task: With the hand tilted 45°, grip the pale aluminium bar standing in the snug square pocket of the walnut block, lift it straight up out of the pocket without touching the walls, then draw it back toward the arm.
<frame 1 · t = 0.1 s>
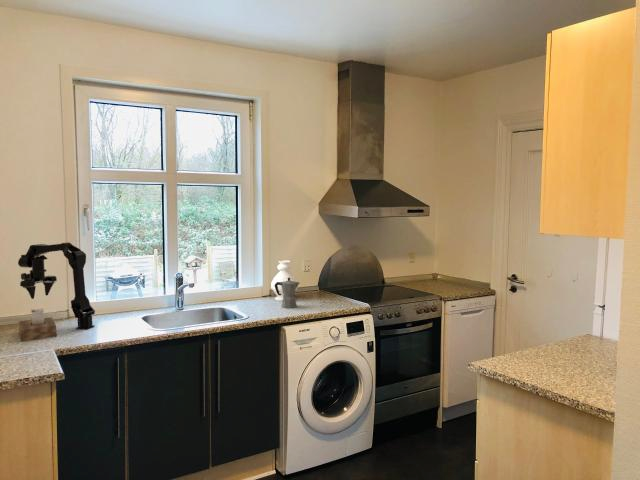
hand: (39, 297, 266), 15 cm above the worktop, tool pointing down, fingers open, 9 cm apart
aluminium bar: (38, 330, 248), point 2 cm above the worktop, touching walnut pocket block
coffeepot: (287, 307, 306), on the worktop
decorative vase: (284, 298, 331), on the worktop
walnut pocket block: (38, 334, 248), on the worktop
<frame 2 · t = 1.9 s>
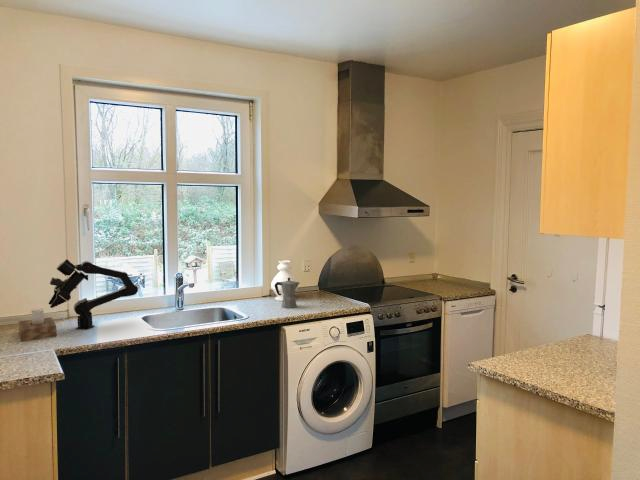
hand: (49, 305, 250), 13 cm above the worktop, tool tilted 45°, fingers open, 9 cm apart
nothing on the worktop moved.
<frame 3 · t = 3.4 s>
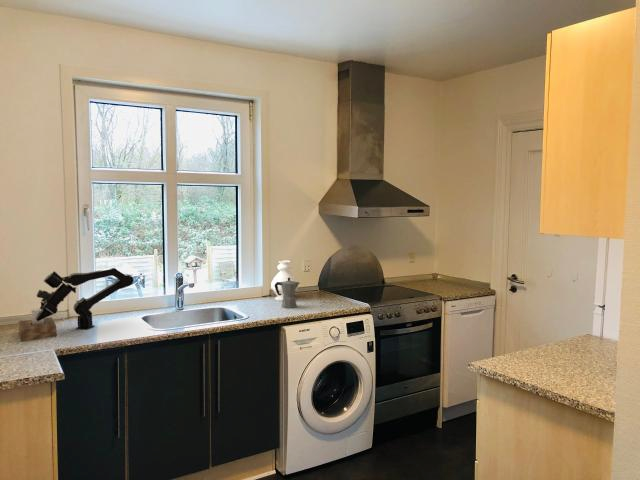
hand: (36, 318, 247), 8 cm above the worktop, tool tilted 45°, fingers open, 9 cm apart
nothing on the worktop moved.
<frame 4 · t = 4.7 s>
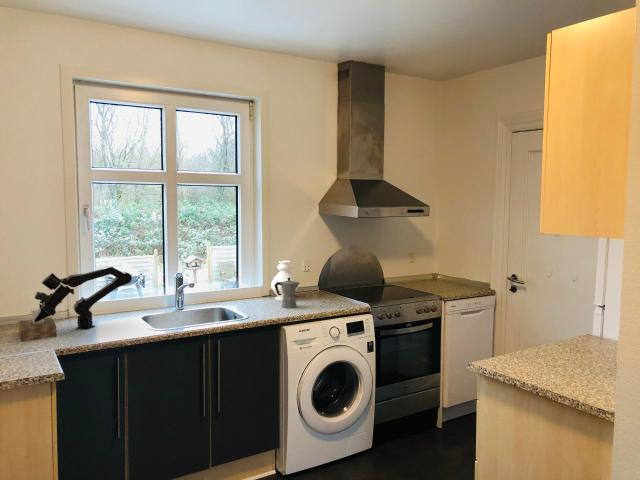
hand: (34, 320, 246), 7 cm above the worktop, tool tilted 45°, fingers closed on aluminium bar, 5 cm apart
aluminium bar: (38, 330, 248), point 2 cm above the worktop, touching gripper, walnut pocket block
everything else where it was.
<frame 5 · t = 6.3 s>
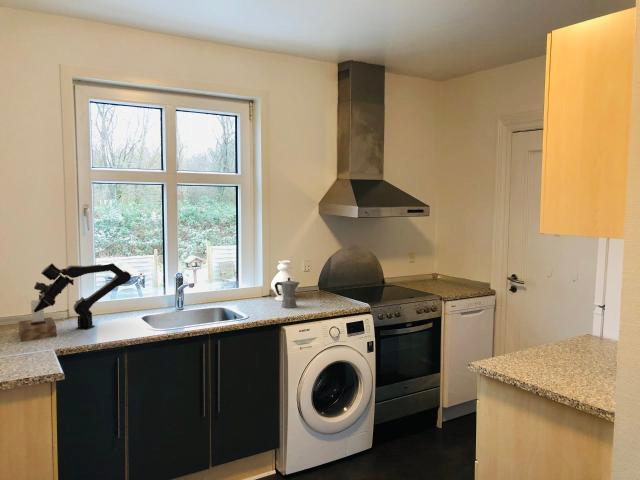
hand: (34, 310, 246), 12 cm above the worktop, tool tilted 45°, fingers closed on aluminium bar, 5 cm apart
aluminium bar: (37, 320, 247), point 7 cm above the worktop, touching gripper
everything else where it was.
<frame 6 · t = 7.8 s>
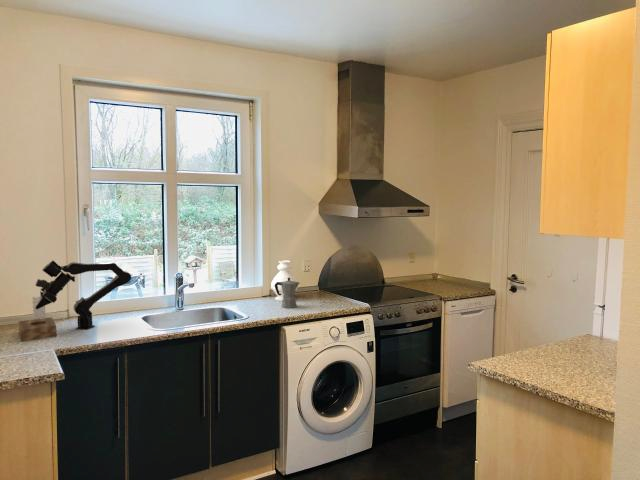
hand: (35, 307, 246), 13 cm above the worktop, tool tilted 45°, fingers closed on aluminium bar, 5 cm apart
aluminium bar: (39, 317, 247), point 8 cm above the worktop, touching gripper
everything else where it was.
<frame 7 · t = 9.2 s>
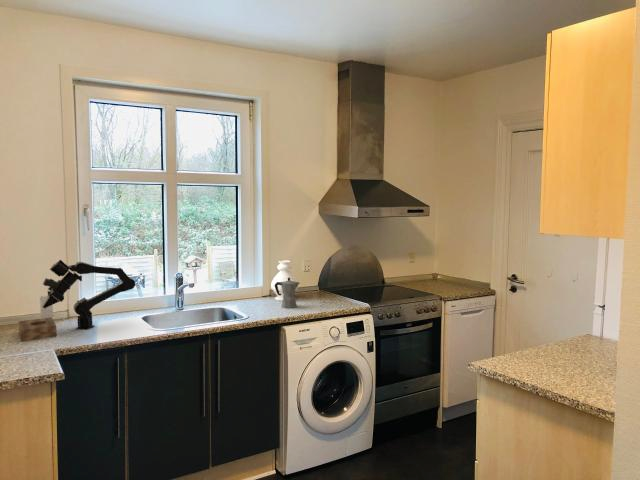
hand: (43, 306, 248), 13 cm above the worktop, tool tilted 45°, fingers closed on aluminium bar, 5 cm apart
aluminium bar: (46, 316, 249), point 8 cm above the worktop, touching gripper
everything else where it was.
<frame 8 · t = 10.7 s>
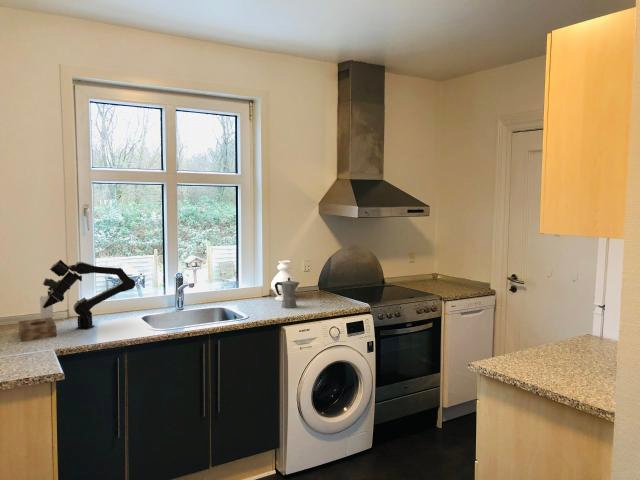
hand: (43, 306, 248), 13 cm above the worktop, tool tilted 45°, fingers closed on aluminium bar, 5 cm apart
aluminium bar: (46, 316, 249), point 8 cm above the worktop, touching gripper
everything else where it was.
at the end: aluminium bar point 8.4 cm above the worktop; aluminium bar touching gripper; aluminium bar tilted 0° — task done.
